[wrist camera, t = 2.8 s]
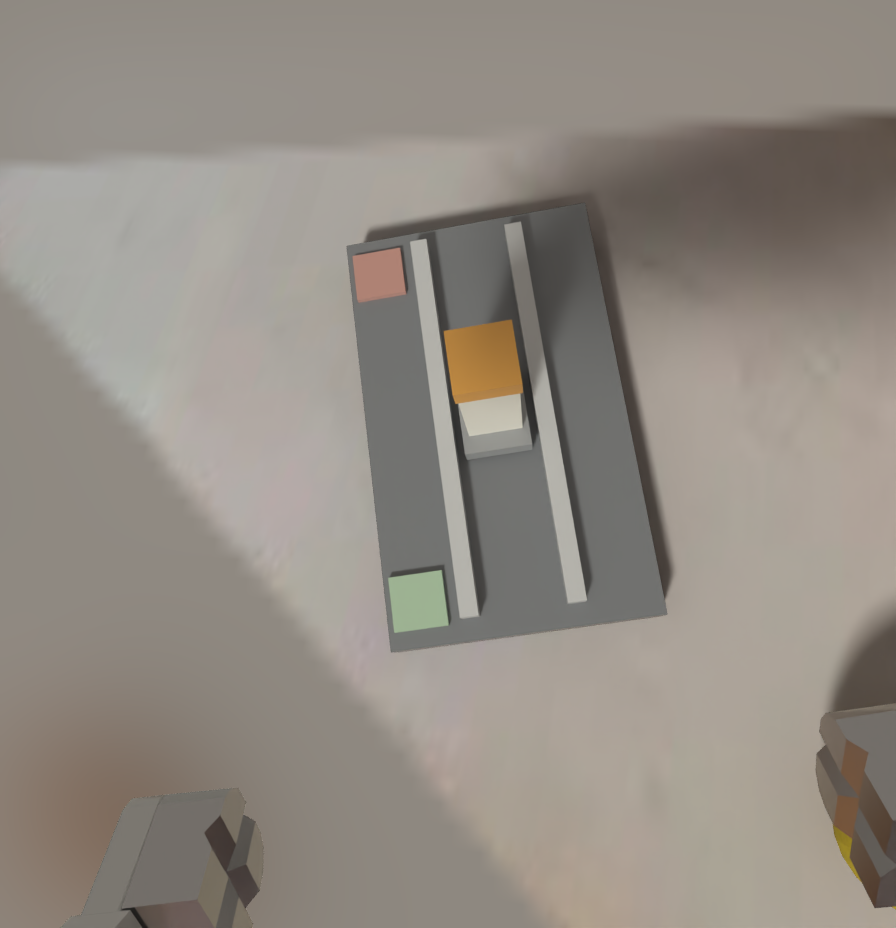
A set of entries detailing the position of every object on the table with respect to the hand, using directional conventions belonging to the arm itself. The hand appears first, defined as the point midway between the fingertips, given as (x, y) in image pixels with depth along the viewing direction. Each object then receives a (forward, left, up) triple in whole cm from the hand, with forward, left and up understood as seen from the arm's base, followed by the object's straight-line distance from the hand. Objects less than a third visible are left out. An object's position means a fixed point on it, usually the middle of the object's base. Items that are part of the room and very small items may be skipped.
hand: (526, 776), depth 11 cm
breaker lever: (-7, -10, -22) cm, 25 cm away
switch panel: (-7, -10, -24) cm, 27 cm away
